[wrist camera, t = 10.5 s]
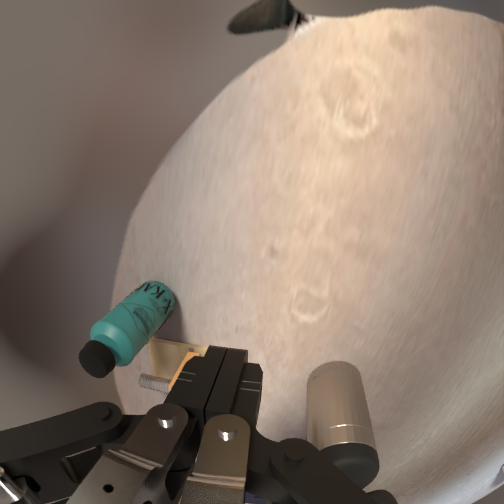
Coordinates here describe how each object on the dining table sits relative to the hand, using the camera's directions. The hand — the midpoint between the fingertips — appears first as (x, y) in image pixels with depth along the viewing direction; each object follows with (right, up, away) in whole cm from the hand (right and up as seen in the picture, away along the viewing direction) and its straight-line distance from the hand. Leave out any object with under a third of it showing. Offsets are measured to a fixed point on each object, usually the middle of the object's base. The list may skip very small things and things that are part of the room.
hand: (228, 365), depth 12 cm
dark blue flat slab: (+7, -51, +47) cm, 69 cm away
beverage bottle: (-13, -2, +35) cm, 38 cm away
